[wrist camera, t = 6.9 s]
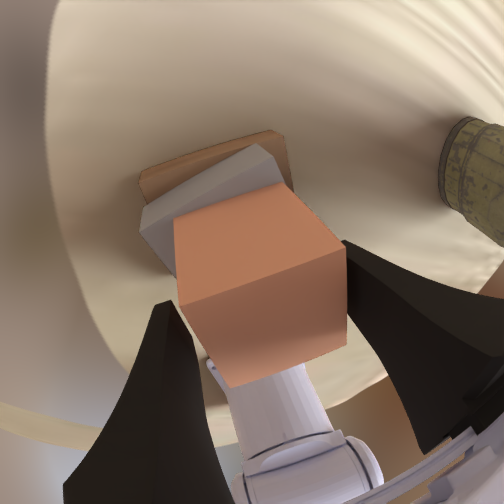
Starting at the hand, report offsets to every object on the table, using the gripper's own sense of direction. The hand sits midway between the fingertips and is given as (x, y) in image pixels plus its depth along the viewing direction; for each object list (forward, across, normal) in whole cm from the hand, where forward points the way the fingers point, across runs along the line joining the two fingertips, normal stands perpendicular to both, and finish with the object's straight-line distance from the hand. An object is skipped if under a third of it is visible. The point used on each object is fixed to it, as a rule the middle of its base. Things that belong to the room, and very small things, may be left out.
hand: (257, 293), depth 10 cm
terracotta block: (+3, 0, 0) cm, 3 cm away
